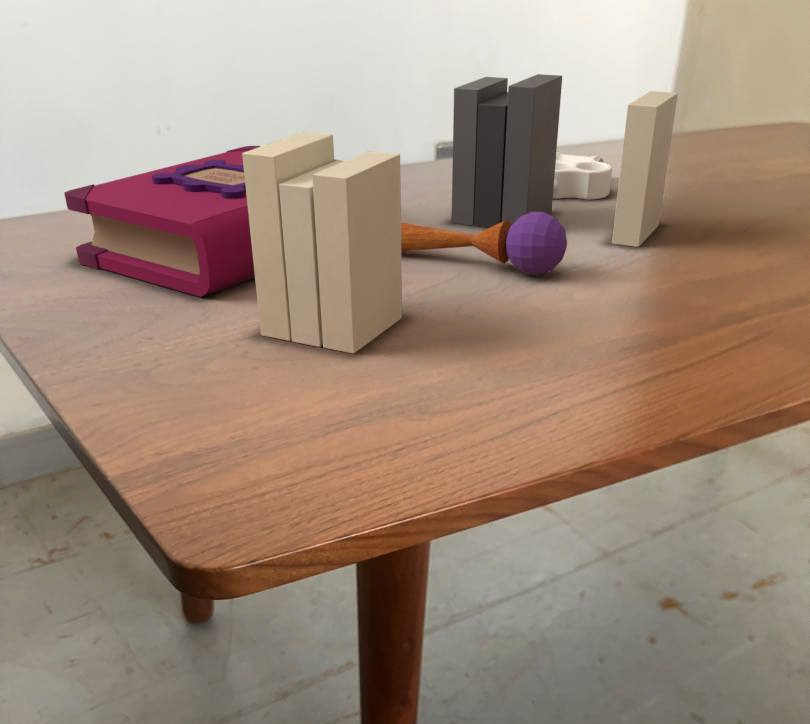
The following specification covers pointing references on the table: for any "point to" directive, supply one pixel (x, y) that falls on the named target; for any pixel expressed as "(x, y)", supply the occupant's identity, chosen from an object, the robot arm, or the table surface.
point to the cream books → (324, 241)
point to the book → (172, 224)
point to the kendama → (500, 241)
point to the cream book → (643, 167)
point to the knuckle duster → (581, 177)
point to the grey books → (504, 149)
